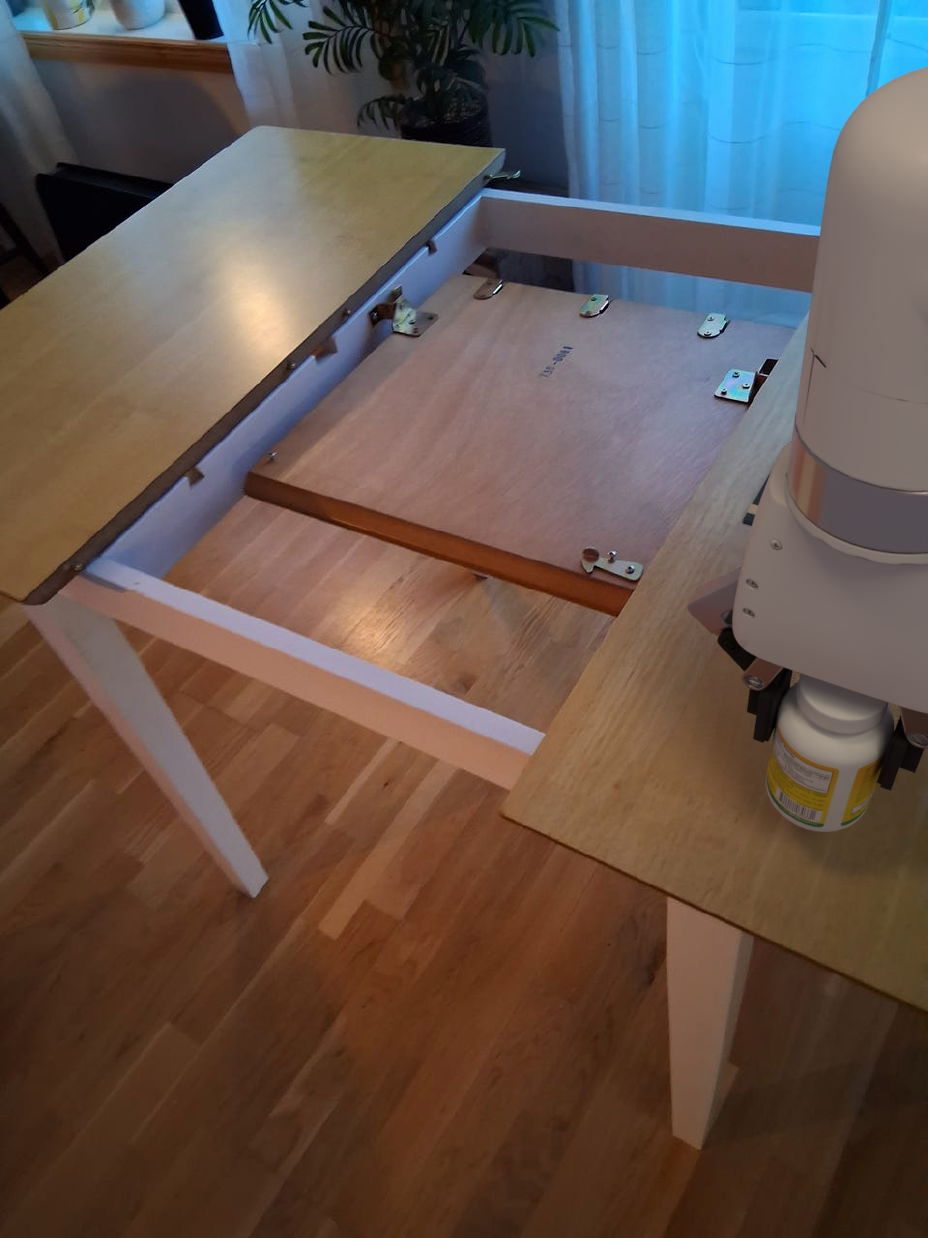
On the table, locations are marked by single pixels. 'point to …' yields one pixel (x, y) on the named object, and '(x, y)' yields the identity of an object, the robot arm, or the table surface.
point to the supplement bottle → (826, 754)
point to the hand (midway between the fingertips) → (829, 740)
